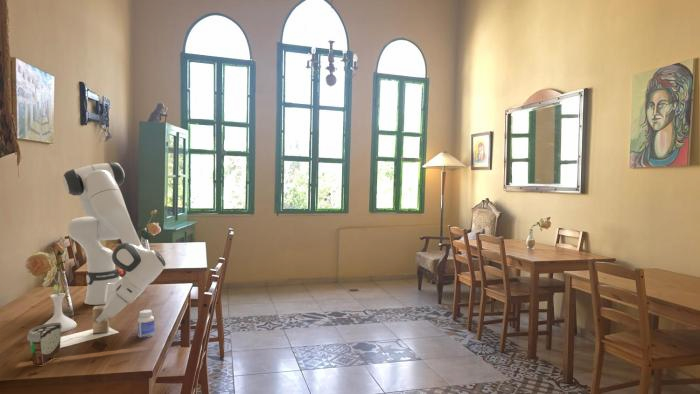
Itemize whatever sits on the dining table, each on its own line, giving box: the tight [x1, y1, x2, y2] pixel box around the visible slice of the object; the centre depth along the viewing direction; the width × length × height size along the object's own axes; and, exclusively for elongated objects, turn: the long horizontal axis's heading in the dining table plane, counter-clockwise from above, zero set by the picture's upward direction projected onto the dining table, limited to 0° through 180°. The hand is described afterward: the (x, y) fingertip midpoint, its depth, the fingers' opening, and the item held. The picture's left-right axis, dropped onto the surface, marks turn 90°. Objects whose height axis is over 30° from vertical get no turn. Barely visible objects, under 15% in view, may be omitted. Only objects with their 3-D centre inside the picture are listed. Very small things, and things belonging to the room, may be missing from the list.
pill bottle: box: [137, 309, 156, 339], centre depth 160 cm, size 5×5×10 cm
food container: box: [26, 322, 62, 366], centre depth 141 cm, size 12×6×10 cm, turn 5°
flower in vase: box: [41, 265, 78, 333], centre depth 165 cm, size 13×11×25 cm
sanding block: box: [92, 304, 110, 335], centre depth 162 cm, size 4×4×9 cm
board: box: [60, 326, 120, 349], centre depth 158 cm, size 20×11×1 cm, turn 141°
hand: (98, 318), depth 162 cm, fingers closed on sanding block, 4 cm apart
